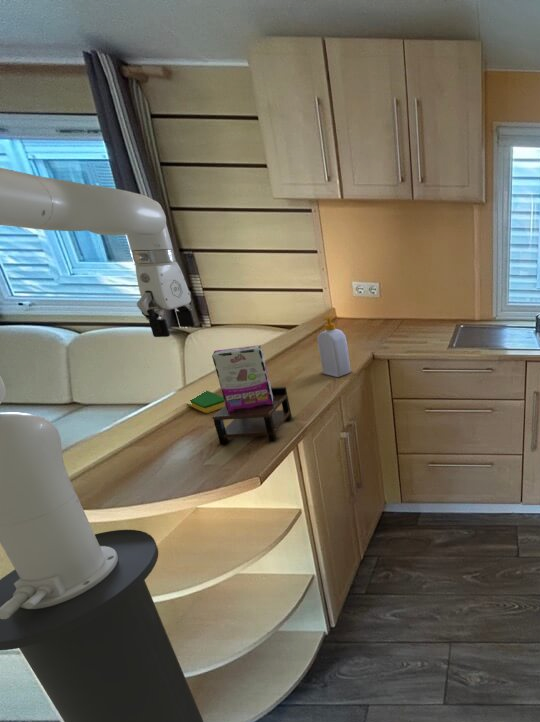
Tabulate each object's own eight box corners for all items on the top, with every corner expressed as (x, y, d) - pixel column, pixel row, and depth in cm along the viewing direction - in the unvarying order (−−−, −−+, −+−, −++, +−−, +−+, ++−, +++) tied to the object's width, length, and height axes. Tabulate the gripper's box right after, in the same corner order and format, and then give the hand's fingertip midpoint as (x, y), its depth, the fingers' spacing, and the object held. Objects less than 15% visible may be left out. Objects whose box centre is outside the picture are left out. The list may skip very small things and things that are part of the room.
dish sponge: (206, 413, 127) (204, 406, 126) (185, 404, 134) (183, 397, 133) (229, 405, 133) (228, 398, 132) (208, 396, 140) (206, 390, 139)
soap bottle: (352, 372, 162) (345, 316, 154) (338, 377, 157) (329, 319, 148) (337, 368, 166) (328, 313, 158) (322, 373, 161) (313, 316, 152)
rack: (275, 441, 111) (267, 407, 108) (220, 444, 110) (210, 410, 106) (292, 418, 124) (285, 387, 121) (243, 421, 123) (235, 389, 119)
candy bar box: (273, 398, 118) (261, 344, 112) (273, 404, 114) (261, 348, 108) (228, 405, 113) (213, 349, 107) (226, 412, 109) (211, 354, 103)
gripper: (145, 261, 84) (169, 340, 90) (194, 255, 100) (211, 323, 106) (106, 261, 83) (132, 341, 89) (161, 255, 99) (180, 323, 105)
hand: (175, 331), depth 98 cm, fingers open, 9 cm apart
